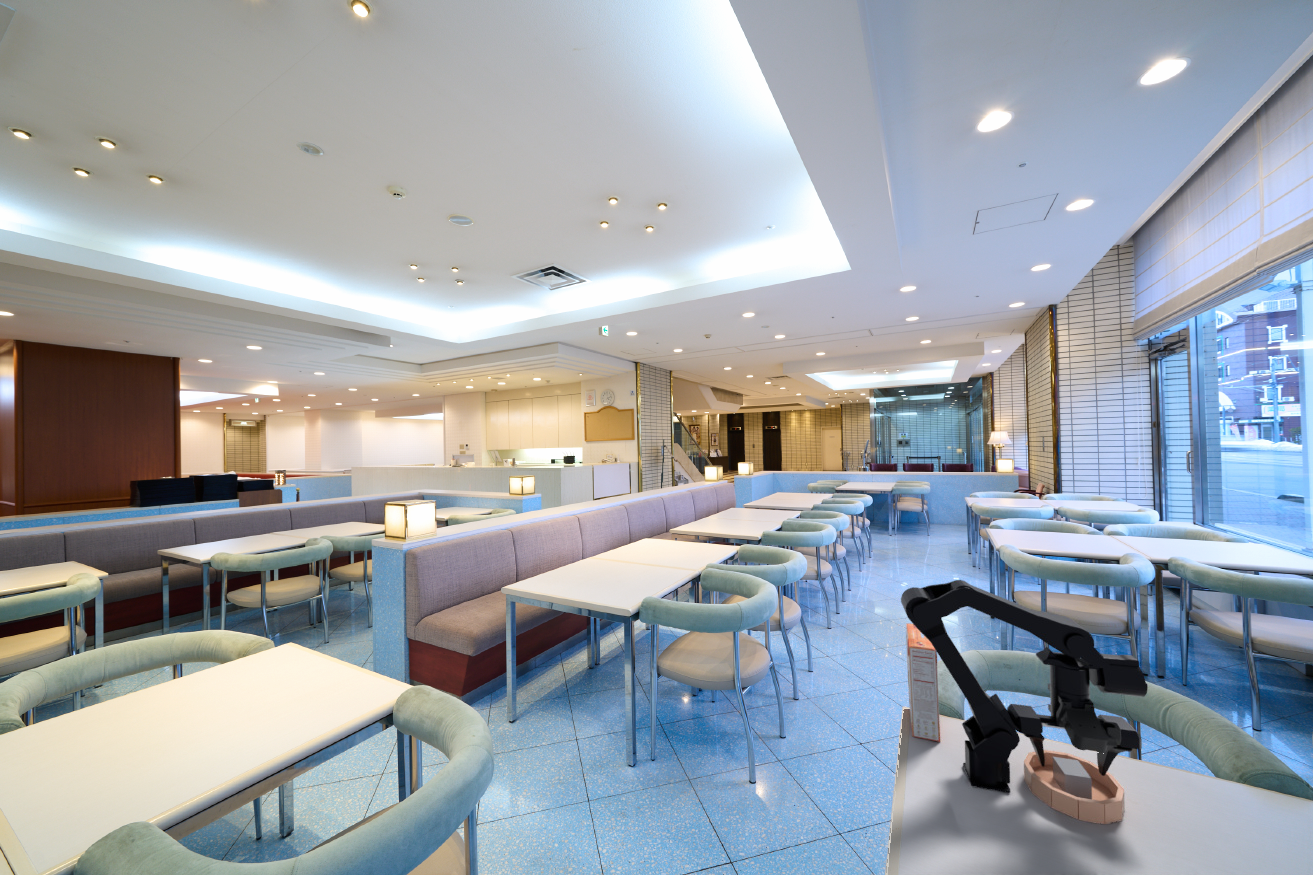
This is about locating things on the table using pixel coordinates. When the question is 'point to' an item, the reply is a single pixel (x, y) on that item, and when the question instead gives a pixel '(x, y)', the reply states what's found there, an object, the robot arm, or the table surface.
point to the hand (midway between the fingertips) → (1071, 769)
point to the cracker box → (922, 685)
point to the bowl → (1099, 809)
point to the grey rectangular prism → (1072, 777)
